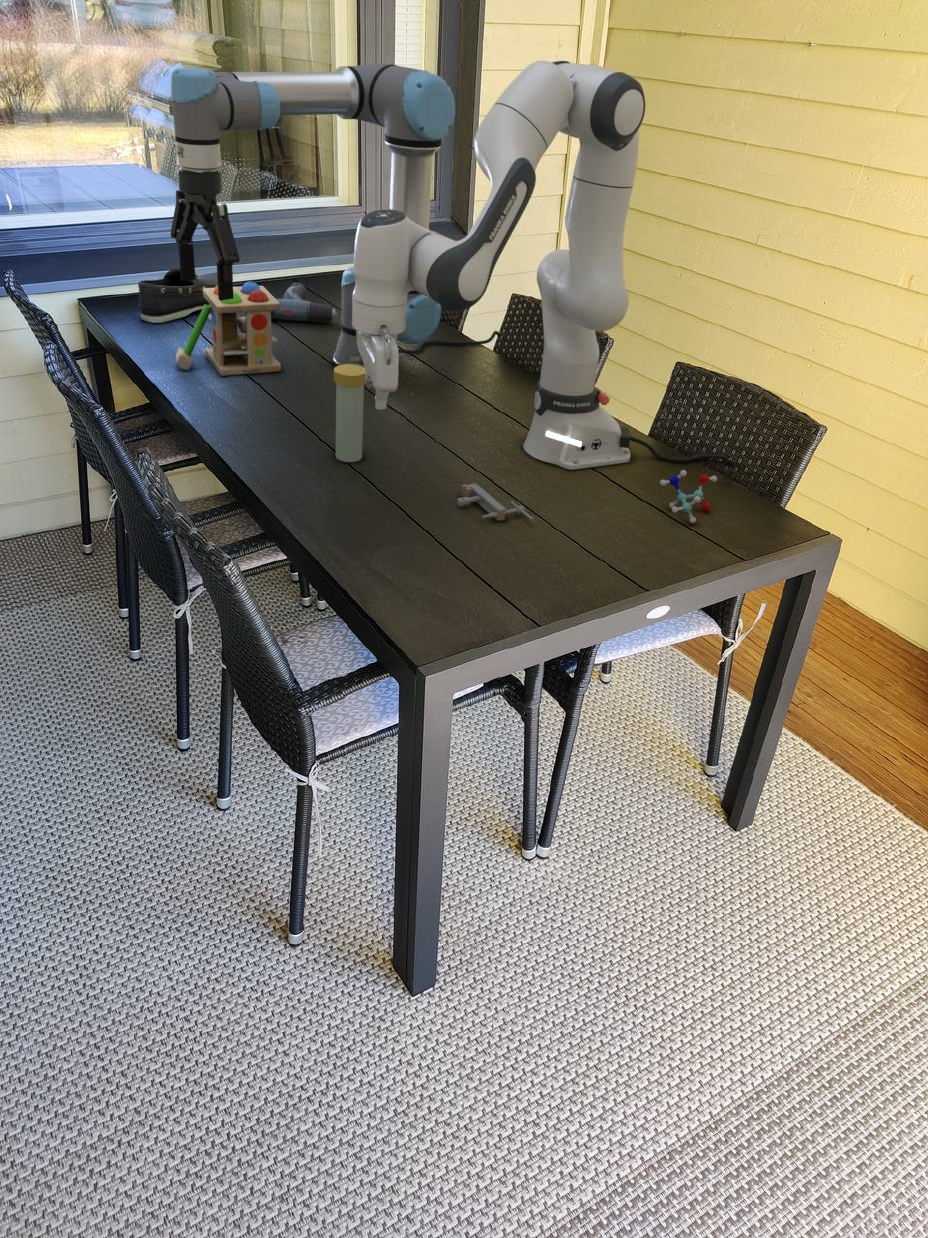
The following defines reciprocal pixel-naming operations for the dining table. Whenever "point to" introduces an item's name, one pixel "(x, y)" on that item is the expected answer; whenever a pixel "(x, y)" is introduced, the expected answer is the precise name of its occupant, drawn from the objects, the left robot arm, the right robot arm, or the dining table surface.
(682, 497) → the molecular model
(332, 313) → the power drill
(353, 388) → the jar
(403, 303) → the right robot arm
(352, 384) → the lid
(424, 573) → the dining table surface
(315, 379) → the dining table surface
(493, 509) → the clamp
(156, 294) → the boat shoe
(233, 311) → the pounding bench toy
